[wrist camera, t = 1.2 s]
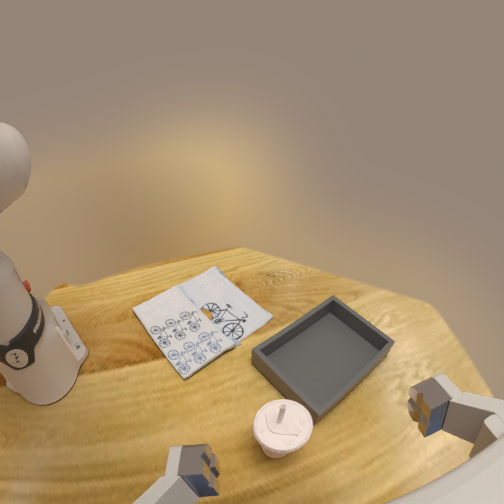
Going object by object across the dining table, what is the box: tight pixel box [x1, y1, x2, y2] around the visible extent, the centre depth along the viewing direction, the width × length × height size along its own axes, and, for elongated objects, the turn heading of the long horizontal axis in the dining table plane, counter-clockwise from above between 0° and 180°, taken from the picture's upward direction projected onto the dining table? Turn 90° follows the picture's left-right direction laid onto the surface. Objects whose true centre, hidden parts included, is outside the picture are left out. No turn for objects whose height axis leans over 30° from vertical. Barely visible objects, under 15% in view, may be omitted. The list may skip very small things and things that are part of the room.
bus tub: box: [252, 295, 395, 425], centre depth 43 cm, size 14×18×4 cm
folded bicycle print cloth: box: [132, 266, 273, 379], centre depth 51 cm, size 19×20×2 cm
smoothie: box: [253, 399, 313, 458], centre depth 28 cm, size 6×6×14 cm
